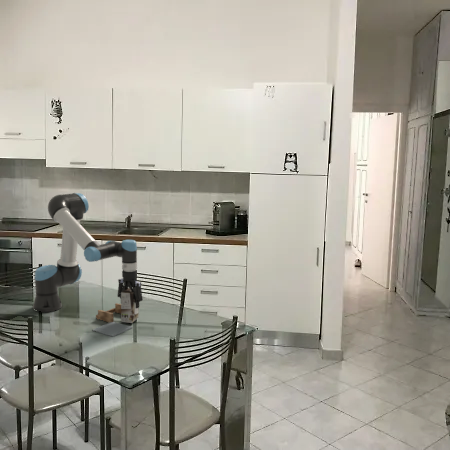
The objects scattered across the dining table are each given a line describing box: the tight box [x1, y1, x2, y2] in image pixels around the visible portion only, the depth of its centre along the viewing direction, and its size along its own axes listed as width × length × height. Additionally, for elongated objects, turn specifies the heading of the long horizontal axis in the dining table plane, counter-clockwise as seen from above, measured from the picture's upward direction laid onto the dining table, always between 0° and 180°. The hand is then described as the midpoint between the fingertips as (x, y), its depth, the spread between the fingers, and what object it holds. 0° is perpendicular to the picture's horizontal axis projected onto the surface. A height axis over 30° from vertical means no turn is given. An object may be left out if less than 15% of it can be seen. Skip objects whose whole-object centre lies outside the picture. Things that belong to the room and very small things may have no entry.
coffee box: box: [120, 287, 140, 324], centre depth 265 cm, size 9×6×16 cm
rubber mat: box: [92, 321, 134, 338], centre depth 256 cm, size 14×14×1 cm
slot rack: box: [95, 303, 121, 323], centre depth 272 cm, size 12×14×5 cm
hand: (130, 312), depth 266 cm, fingers closed on coffee box, 8 cm apart
